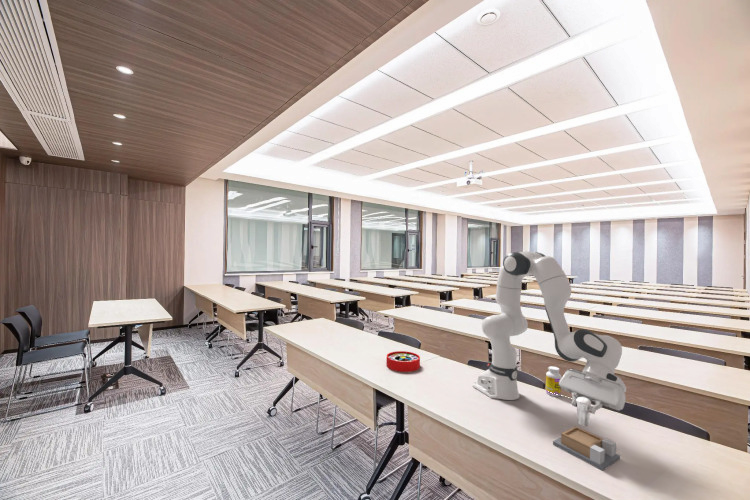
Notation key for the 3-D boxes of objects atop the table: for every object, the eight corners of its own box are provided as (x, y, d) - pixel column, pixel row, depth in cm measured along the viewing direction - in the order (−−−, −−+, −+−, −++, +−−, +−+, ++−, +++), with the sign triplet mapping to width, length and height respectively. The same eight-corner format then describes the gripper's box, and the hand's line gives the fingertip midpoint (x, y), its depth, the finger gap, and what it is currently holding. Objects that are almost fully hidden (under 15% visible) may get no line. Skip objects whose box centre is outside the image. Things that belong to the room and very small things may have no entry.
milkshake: (574, 418, 118) (574, 391, 118) (591, 423, 114) (592, 395, 115) (572, 423, 114) (572, 395, 114) (590, 428, 111) (590, 399, 111)
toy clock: (395, 349, 208) (424, 354, 198) (395, 358, 208) (424, 364, 198) (380, 357, 190) (412, 364, 181) (380, 367, 190) (411, 374, 181)
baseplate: (553, 444, 117) (553, 430, 117) (570, 435, 123) (571, 421, 123) (602, 470, 103) (602, 454, 103) (619, 458, 109) (620, 443, 109)
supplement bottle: (554, 397, 155) (555, 371, 155) (542, 392, 161) (543, 366, 161) (564, 395, 157) (564, 369, 157) (552, 390, 164) (552, 364, 164)
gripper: (564, 362, 127) (549, 392, 121) (626, 380, 109) (612, 416, 104) (570, 371, 129) (556, 401, 124) (632, 391, 111) (618, 427, 106)
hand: (582, 408), depth 114 cm, fingers closed on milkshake, 4 cm apart
